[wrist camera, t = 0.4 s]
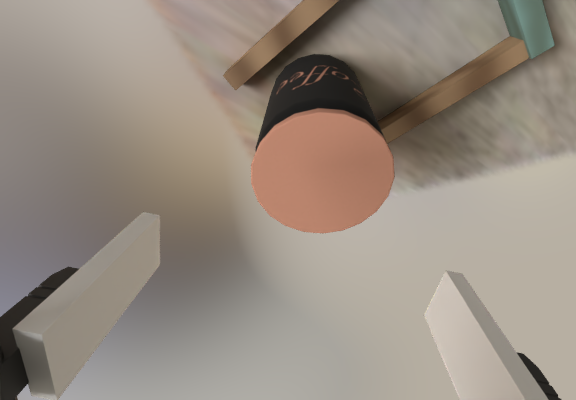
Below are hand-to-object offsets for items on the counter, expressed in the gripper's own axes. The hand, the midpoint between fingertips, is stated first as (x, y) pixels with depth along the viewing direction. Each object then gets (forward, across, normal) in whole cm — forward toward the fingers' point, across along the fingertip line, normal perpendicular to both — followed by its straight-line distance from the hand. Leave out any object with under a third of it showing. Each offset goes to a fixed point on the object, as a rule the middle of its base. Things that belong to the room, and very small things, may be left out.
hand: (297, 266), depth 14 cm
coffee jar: (+28, 0, +4) cm, 28 cm away
